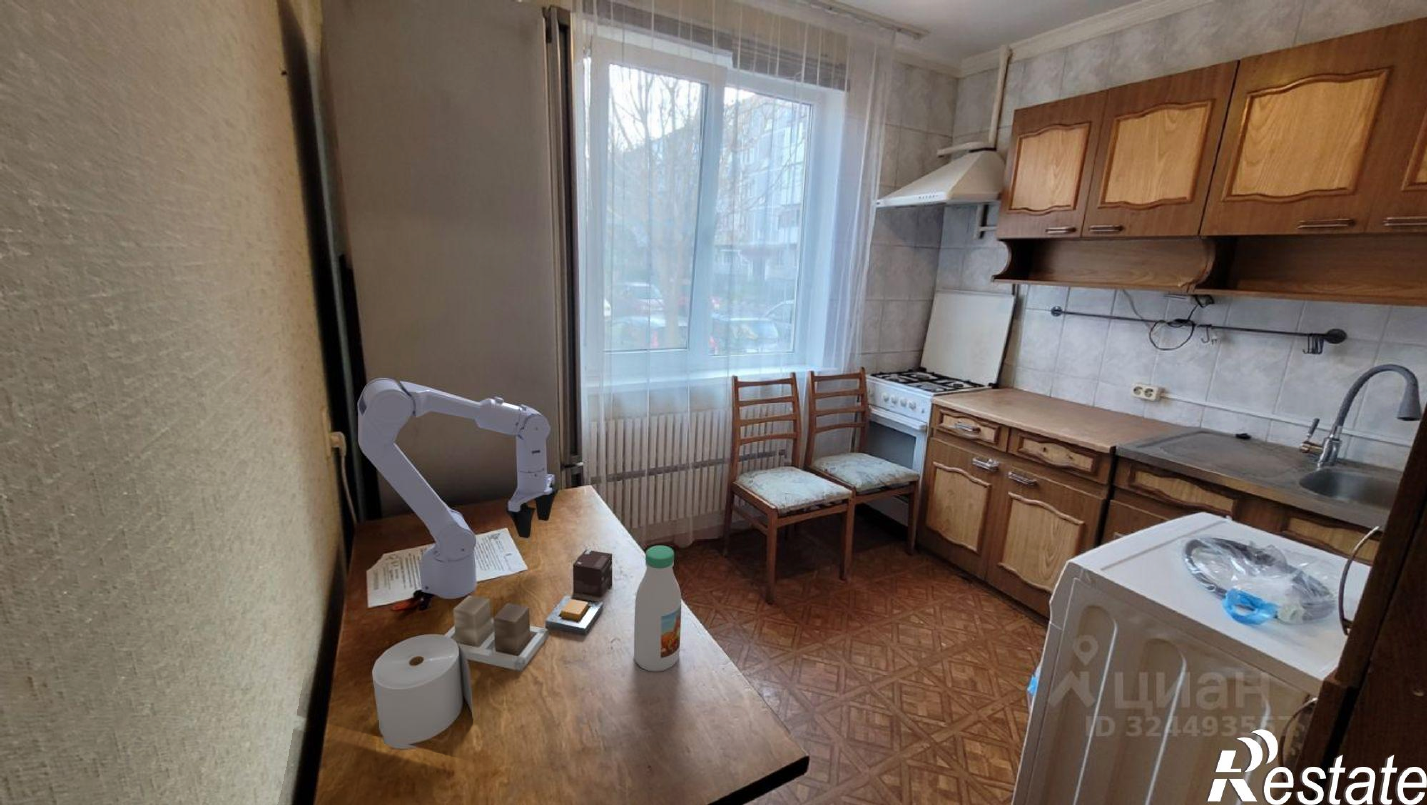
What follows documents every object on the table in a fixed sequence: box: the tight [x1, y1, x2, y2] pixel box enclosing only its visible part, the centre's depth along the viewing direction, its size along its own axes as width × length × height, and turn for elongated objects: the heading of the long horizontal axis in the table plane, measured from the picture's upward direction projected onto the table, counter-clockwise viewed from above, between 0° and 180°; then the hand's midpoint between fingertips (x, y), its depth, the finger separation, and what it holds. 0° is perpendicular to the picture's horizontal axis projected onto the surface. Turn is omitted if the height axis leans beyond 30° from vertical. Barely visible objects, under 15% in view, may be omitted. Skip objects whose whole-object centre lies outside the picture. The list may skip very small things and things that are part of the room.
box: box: [572, 549, 613, 598], centre depth 108 cm, size 6×6×7 cm
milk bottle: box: [633, 545, 682, 672], centre depth 90 cm, size 8×8×20 cm
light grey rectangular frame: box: [444, 617, 549, 672], centre depth 92 cm, size 16×8×2 cm, turn 78°
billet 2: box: [492, 602, 531, 656], centre depth 90 cm, size 4×4×7 cm
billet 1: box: [452, 594, 492, 648], centre depth 92 cm, size 4×4×7 cm
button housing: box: [544, 595, 604, 637], centre depth 99 cm, size 8×8×2 cm
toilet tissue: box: [371, 633, 474, 750], centre depth 77 cm, size 11×12×10 cm
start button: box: [561, 599, 588, 621], centre depth 99 cm, size 4×4×3 cm
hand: (534, 528), depth 114 cm, fingers open, 7 cm apart
